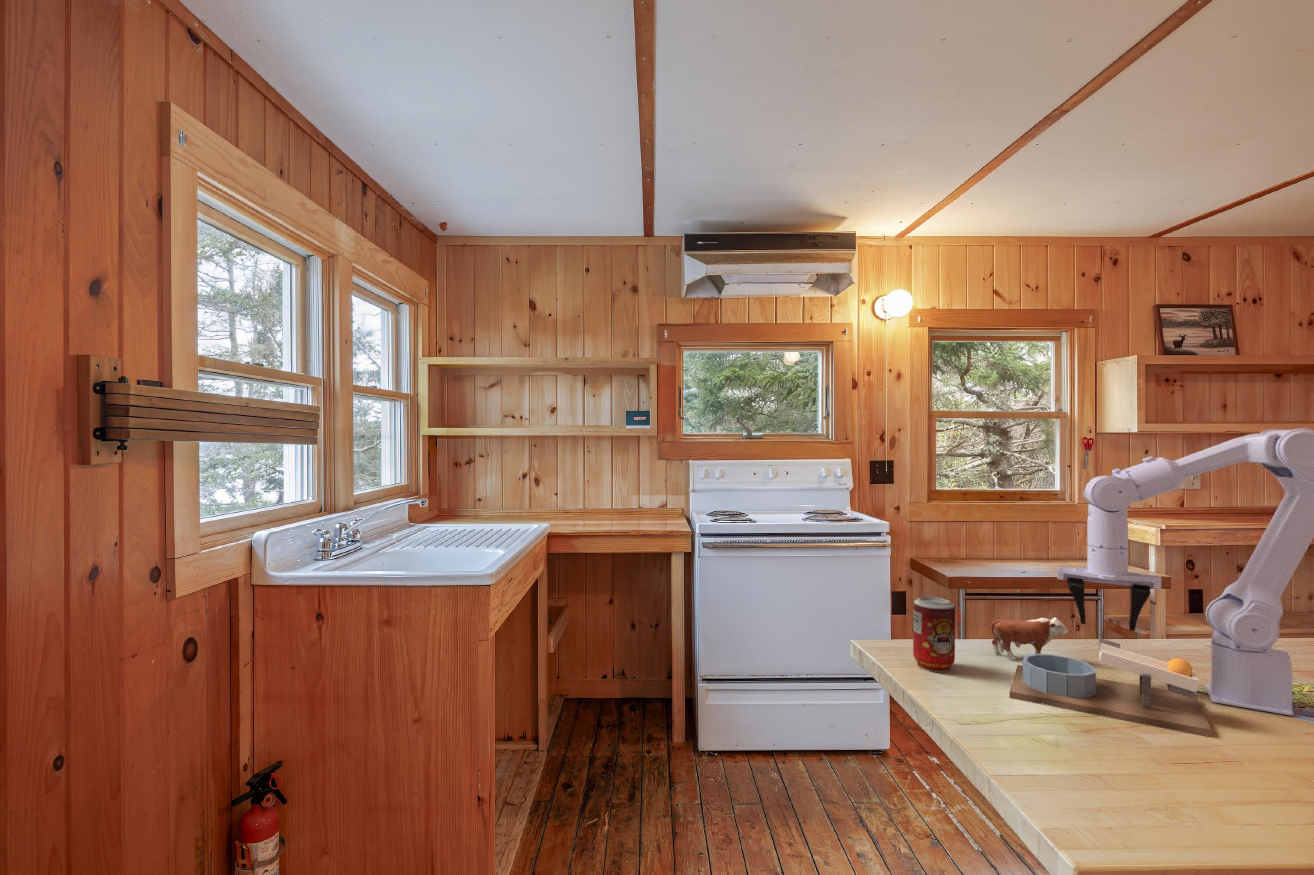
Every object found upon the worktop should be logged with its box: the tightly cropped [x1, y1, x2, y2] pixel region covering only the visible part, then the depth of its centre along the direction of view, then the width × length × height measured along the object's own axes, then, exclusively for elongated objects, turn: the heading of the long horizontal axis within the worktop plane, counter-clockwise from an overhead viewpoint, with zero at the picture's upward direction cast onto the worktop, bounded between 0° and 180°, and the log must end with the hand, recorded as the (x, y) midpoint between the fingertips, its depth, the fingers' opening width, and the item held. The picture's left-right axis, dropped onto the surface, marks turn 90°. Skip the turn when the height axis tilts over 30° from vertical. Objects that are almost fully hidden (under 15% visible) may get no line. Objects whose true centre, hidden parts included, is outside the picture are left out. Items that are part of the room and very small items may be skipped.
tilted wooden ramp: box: [1098, 637, 1200, 699], centre depth 105 cm, size 12×13×3 cm
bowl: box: [1022, 653, 1097, 698], centre depth 108 cm, size 10×10×4 cm
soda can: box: [912, 595, 956, 673], centre depth 120 cm, size 7×7×12 cm
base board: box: [1009, 664, 1212, 738], centre depth 105 cm, size 25×15×6 cm, turn 57°
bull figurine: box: [990, 617, 1070, 661], centre depth 124 cm, size 4×13×8 cm, turn 79°
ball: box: [1167, 657, 1193, 677], centre depth 99 cm, size 3×3×3 cm
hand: (1107, 626), depth 111 cm, fingers open, 6 cm apart
